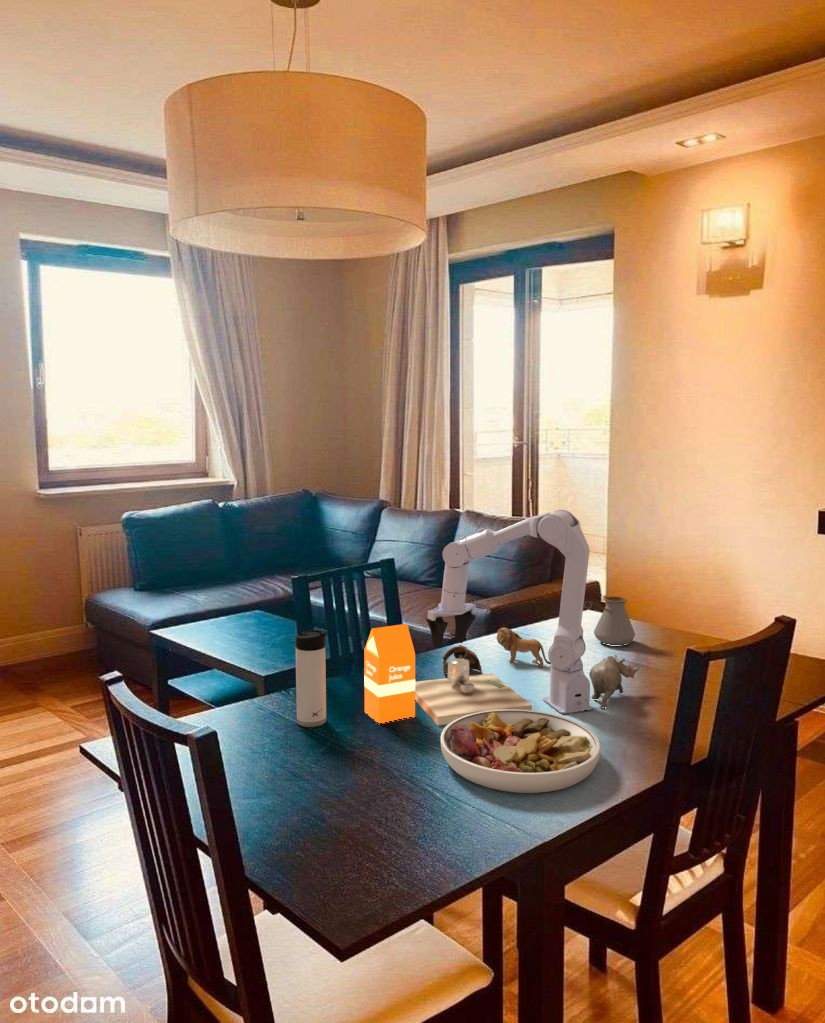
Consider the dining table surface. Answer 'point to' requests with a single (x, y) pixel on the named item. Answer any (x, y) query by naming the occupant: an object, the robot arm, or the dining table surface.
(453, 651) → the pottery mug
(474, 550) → the robot arm
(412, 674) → the orange juice
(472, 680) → the wooden board
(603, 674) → the rhino figurine
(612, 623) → the coffee pot
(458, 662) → the beige shiny cylinders
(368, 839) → the dining table surface
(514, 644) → the lion figurine
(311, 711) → the travel mug
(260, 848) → the dining table surface
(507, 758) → the bowl
